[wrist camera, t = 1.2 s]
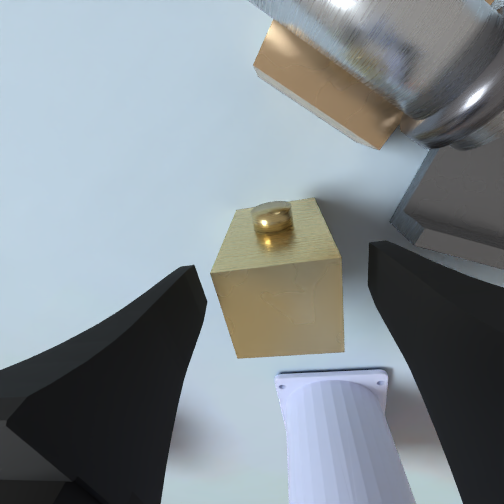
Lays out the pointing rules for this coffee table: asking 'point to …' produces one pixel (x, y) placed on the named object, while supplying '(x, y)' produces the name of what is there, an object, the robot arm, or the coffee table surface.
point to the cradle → (457, 204)
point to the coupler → (281, 281)
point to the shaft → (391, 67)
